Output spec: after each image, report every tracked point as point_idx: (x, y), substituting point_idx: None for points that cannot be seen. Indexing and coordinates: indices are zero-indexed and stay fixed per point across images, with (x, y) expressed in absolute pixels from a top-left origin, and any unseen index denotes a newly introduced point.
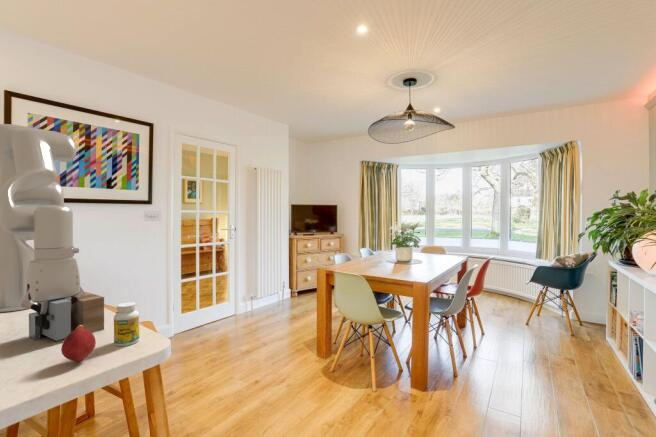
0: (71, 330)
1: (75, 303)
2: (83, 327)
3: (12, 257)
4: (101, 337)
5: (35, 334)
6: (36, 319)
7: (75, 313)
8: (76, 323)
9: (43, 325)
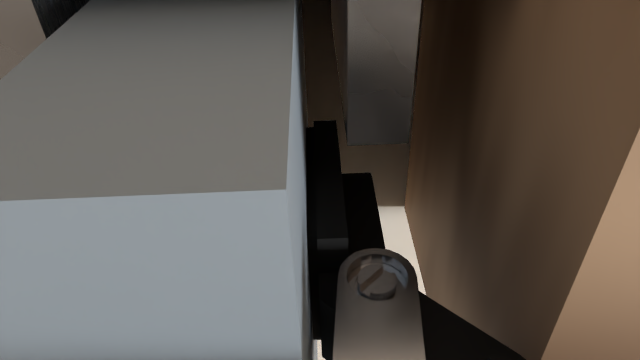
0: (422, 21)
1: (497, 327)
2: (418, 251)
3: None
4: None
5: None
6: None
7: (457, 216)
8: (430, 165)
9: None
